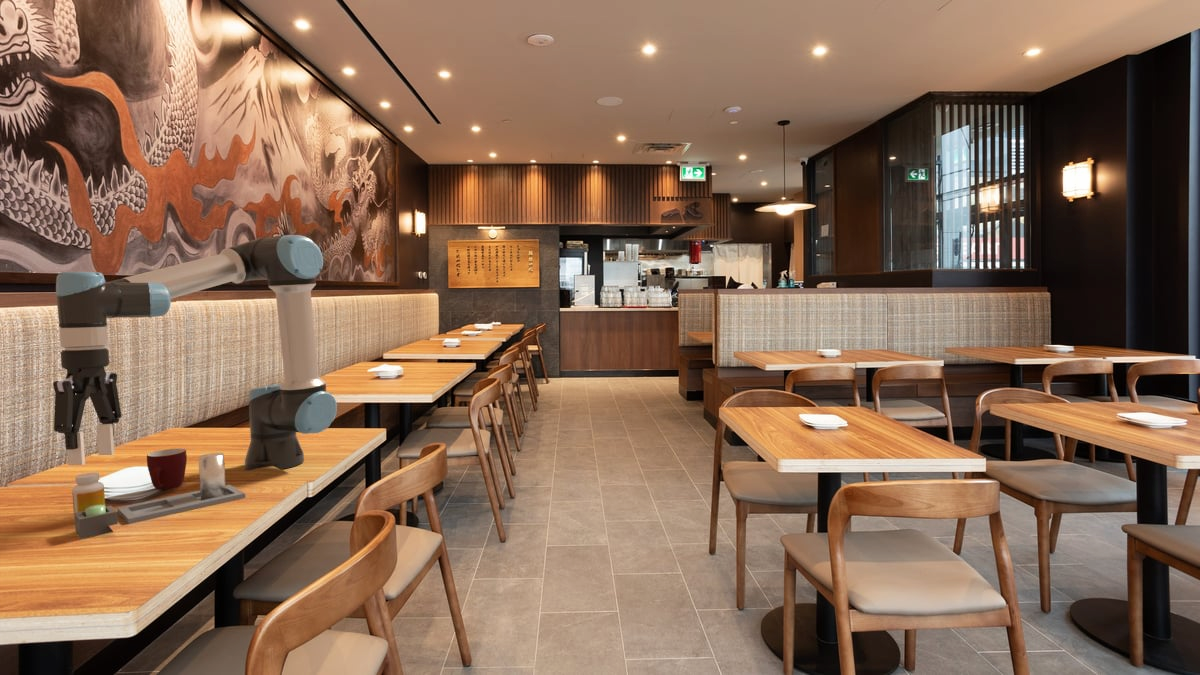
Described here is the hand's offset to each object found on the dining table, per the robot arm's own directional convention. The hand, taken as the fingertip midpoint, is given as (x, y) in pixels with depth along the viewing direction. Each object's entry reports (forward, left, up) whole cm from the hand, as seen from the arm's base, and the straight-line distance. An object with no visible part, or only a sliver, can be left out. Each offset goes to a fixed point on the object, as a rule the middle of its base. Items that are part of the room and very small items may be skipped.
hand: (92, 459), depth 127 cm
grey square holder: (0, 0, -15) cm, 15 cm away
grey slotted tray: (-16, -1, -15) cm, 22 cm away
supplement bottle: (-1, -11, -15) cm, 19 cm away
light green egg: (0, 0, -14) cm, 14 cm away
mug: (-17, -19, -15) cm, 29 cm away
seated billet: (-22, -1, -14) cm, 25 cm away
